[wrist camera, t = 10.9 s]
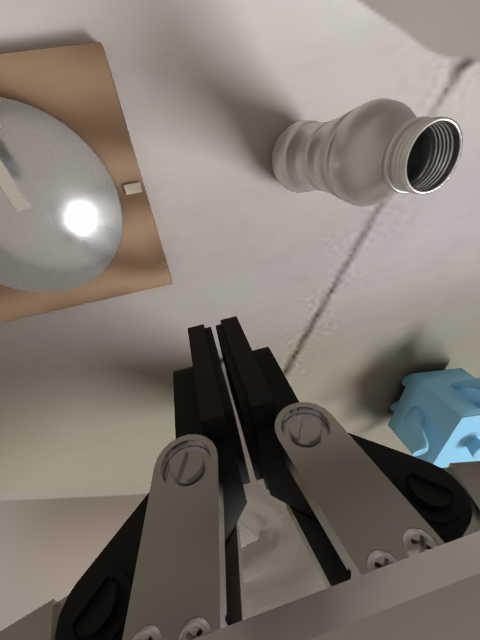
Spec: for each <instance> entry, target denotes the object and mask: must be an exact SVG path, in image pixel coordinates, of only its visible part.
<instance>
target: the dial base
mask: <svg viewBox="0 0 480 640" xmlns="http://www.w3.org/2000/svg"><path fill="white" fill-rule="evenodd" d="M0 97H3V98H7V99H11V100H16V101H19V102H21V103H24V104H27V105H30V106H32V107H35V108H38V109H40V110H42V111H44V112H46V113H48V114H50V115H52V116H53V117H55V118H57V119H58V120H60V121H61V122H63V123H65V124H66V125H67V126H69V127H70V128H71V129H72V130H74V131H75V132H76V133H78V134H79V135H80V136H81V137H82V138H83V139H84V140H85V141H86V142H87V143H88V144H89V145H90V146H91V147H92V148H93V150H94V151H95V152H96V153H97V154H98V156H99V157H100V158H101V160H102V161H103V163H104V164H105V166H106V167H107V169H108V170H109V172H110V174H111V176H112V178H113V180H114V182H115V185H116V187H117V190H118V192H119V196H120V200H121V204H122V211H123V231H122V237H121V240H120V244H119V247H118V249H117V251H116V253H115V255H114V257H113V259H112V260H111V262H110V263H109V265H108V266H107V267H106V268H105V269H104V270H103V272H102V273H100V274H99V275H98V276H97V277H95V278H94V279H93V280H91V281H89V282H88V283H86V284H84V285H81V286H79V287H77V288H74V289H70V290H66V291H60V292H50V293H39V292H28V291H23V290H17V289H14V288H10V287H6V286H3V285H1V284H0V323H2V322H6V321H10V320H15V319H19V318H24V317H28V316H32V315H37V314H41V313H46V312H50V311H55V310H59V309H63V308H68V307H72V306H77V305H81V304H85V303H90V302H94V301H99V300H103V299H108V298H112V297H116V296H121V295H125V294H130V293H134V292H138V291H143V290H147V289H152V288H156V287H160V286H165V285H169V284H172V279H171V275H170V272H169V269H168V265H167V262H166V258H165V255H164V252H163V248H162V245H161V241H160V238H159V235H158V231H157V228H156V224H155V221H154V218H153V214H152V211H151V207H150V204H149V201H148V197H147V194H146V190H145V187H144V184H143V180H142V177H141V173H140V170H139V167H138V163H137V160H136V156H135V153H134V150H133V146H132V143H131V139H130V136H129V133H128V129H127V126H126V122H125V119H124V116H123V112H122V109H121V105H120V102H119V99H118V95H117V92H116V88H115V85H114V82H113V78H112V75H111V71H110V68H109V65H108V61H107V58H106V54H105V51H104V48H103V46H102V44H101V42H95V43H87V44H79V45H70V46H62V47H54V48H45V49H37V50H29V51H20V52H12V53H4V54H0Z"/></svg>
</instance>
